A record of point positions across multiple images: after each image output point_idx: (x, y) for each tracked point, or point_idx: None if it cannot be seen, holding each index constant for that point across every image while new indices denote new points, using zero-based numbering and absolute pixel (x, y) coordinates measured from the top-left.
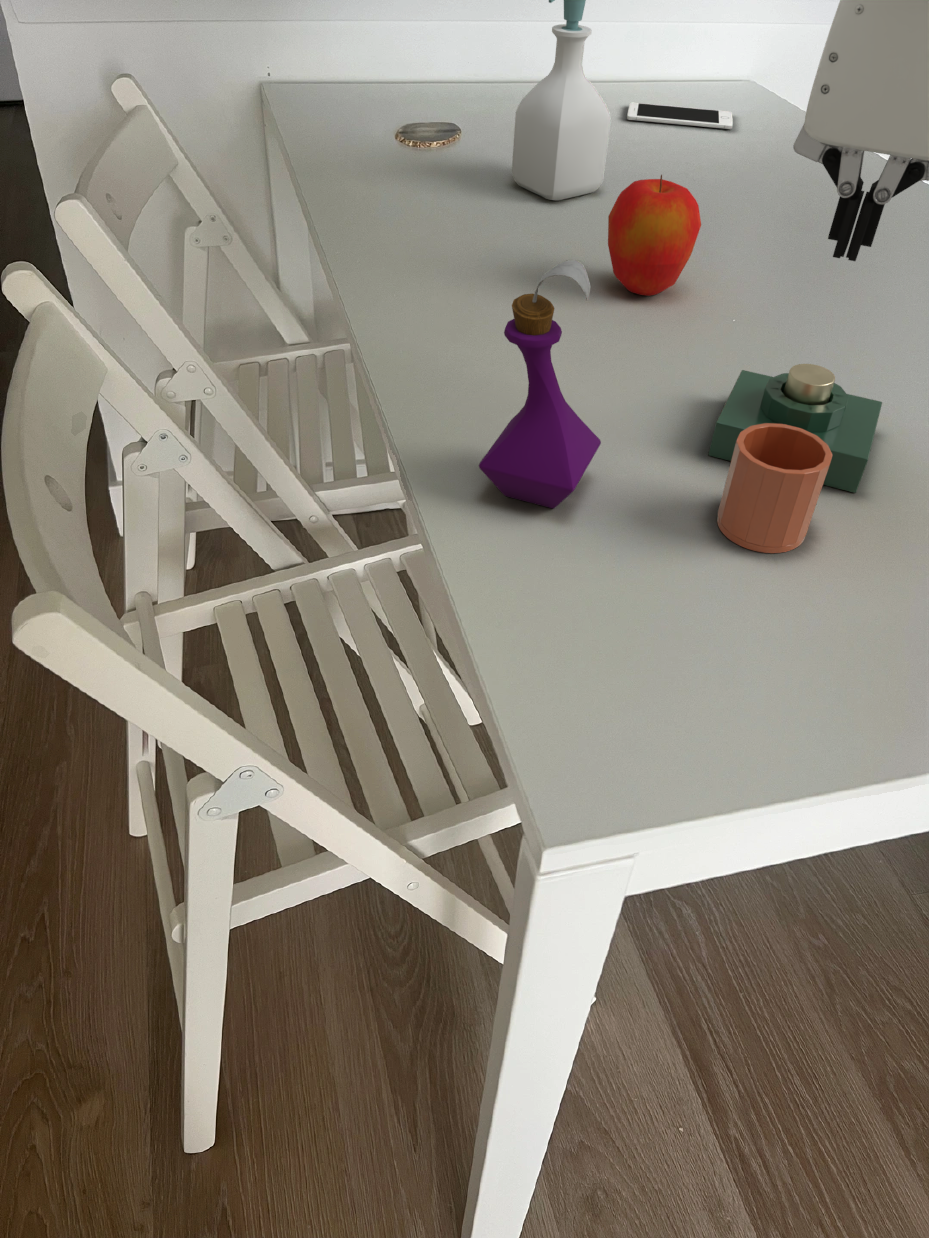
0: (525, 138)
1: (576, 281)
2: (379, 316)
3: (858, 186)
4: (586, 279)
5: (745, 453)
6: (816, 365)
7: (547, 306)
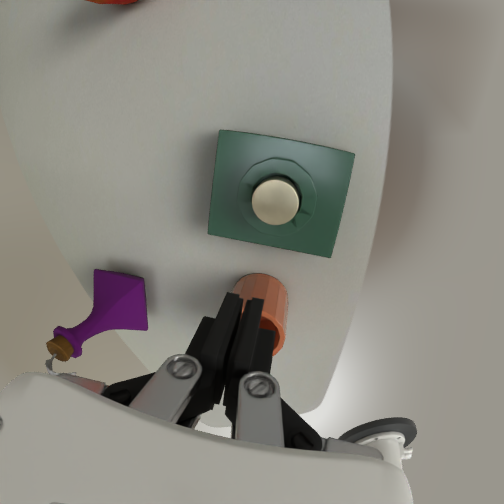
0: None
1: None
2: (17, 132)
3: (202, 411)
4: None
5: None
6: (279, 182)
7: (62, 356)
